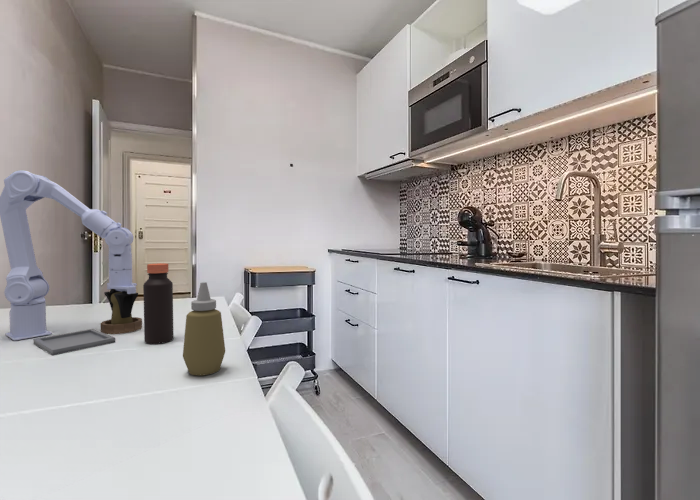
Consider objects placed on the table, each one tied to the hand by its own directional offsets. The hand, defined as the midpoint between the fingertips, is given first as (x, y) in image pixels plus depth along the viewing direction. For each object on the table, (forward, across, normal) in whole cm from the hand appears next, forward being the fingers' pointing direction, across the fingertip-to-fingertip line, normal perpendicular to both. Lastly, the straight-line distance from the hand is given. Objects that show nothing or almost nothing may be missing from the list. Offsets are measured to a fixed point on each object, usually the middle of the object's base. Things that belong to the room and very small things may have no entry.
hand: (121, 316), depth 108 cm
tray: (+4, -5, +13) cm, 14 cm away
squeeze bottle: (+4, -49, +4) cm, 49 cm away
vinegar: (+4, -20, -1) cm, 20 cm away
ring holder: (+4, 0, 0) cm, 4 cm away
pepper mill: (+4, 0, 0) cm, 4 cm away
